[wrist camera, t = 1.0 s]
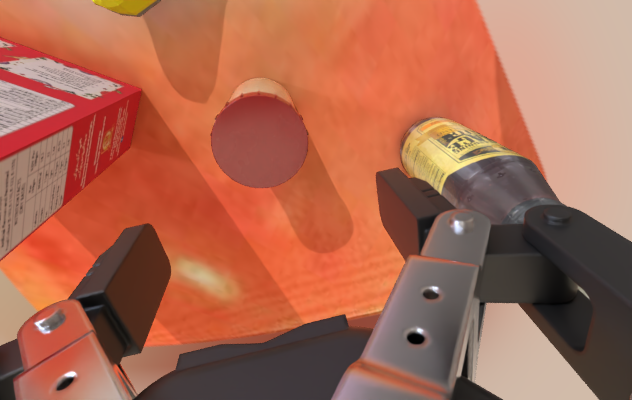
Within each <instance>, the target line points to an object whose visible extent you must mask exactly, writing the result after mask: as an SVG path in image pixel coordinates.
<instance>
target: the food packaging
mask: <svg viewBox="0 0 632 400" xmlns="http://www.w3.org/2000/svg"><path fill="white" fill-rule="evenodd" d="M141 91H142V89H140V88H137V87H134V86H132V85H129V84H126V83H123V82H121V81H118V80H115V79H113V78H110V77H107V76H104V75H102V74H99V73H96V72H93V71H91V70H88V69H85V68H83V67H80V66H77V65H74V64H72V63H69V62H66V61H63V60H61V59H58V58H55V57H52V56H50V55H47V54H44V53H42V52H39V51H36V50H33V49H31V48H28V47H25V46H22V45H20V44H17V43H14V42H12V41H9V40H6V39H3V38H1V37H0V261H1V260H2V259H3V258H5V257H6V256H7V255H8V254H9V253H10V252H11V251H13V250H14V249H15V248H16V247H17V246H18V245H19V244H21V243H22V242H23V241H24V240H25V239H26V238H27V237H29V236H30V235H31V234H32V233H33V232H34V231H35V230H37V229H38V228H39V227H40V226H41V225H42V224H43V223H45V222H46V221H47V220H48V219H49V218H50V217H51V216H53V215H54V214H55V213H56V212H57V211H58V210H59V209H61V208H62V207H63V206H64V205H65V204H66V203H67V202H69V201H70V200H71V199H72V198H73V197H74V196H75V195H77V194H78V193H79V192H80V191H81V190H82V189H83V188H85V187H86V186H87V185H88V184H89V183H90V182H91V181H93V180H94V179H95V178H96V177H97V176H98V175H99V174H101V173H102V172H103V171H104V170H105V169H106V168H107V167H109V166H110V165H111V164H112V163H113V162H114V161H115V160H117V159H118V158H119V157H120V156H121V155H122V154H123V153H125V152H126V151H127V150H128V149H129V148H130V144H131V139H132V134H133V130H134V125H135V120H136V115H137V110H138V106H139V101H140V96H141Z"/></svg>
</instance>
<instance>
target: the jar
mask: <svg viewBox="0 0 632 400" xmlns="http://www.w3.org/2000/svg"><path fill="white" fill-rule="evenodd" d="M258 90H260V92H267V93H271V94H274V95H275V93H276V94H277V96H279V97H281V98H283V99H285V100H286V101H287V102H289V103H290V102H291V103H292V106H293V107H294V108H295V106H294V104H293V101H292V98H291V96H290V95H289V93H288V92H287V90H286V89H285V88H284V87H283V86H282V85H280V84H279V83H277V82H275V81H273V80H271V79H267V78H253V79H250V80H247V81H245V82H243V83H242V84H241V85H239V86H238V87H237V88H236V90H235V91H234V92H233V94H232V96H231V98H230V100H229V102H230V101H231V100H233V99H234V98H236V97H238V96H240V95H241V93H243V94H246V93H250V92H258Z"/></svg>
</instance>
